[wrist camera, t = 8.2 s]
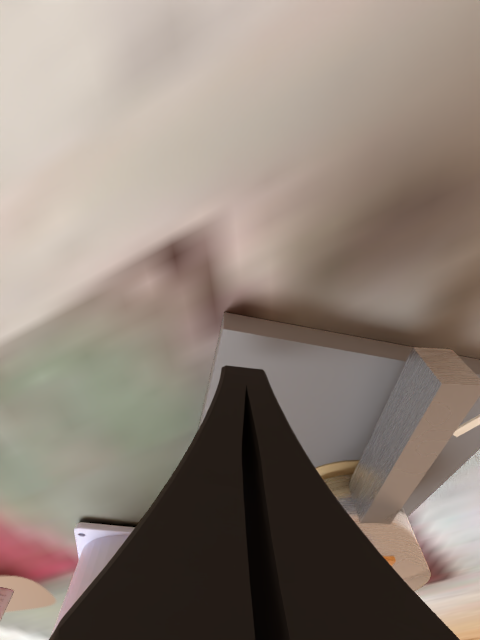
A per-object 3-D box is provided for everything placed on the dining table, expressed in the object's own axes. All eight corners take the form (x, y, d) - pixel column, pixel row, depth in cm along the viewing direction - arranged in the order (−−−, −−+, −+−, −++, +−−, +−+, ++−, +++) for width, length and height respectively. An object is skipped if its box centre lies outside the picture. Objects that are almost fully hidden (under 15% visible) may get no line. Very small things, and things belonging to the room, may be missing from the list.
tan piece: (378, 526, 19) (406, 606, 16) (289, 524, 19) (299, 604, 16) (498, 343, 11) (600, 428, 8) (349, 335, 11) (394, 420, 8)
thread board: (348, 550, 24) (353, 570, 23) (174, 534, 23) (171, 554, 22) (523, 367, 14) (547, 388, 13) (224, 312, 12) (222, 330, 11)
